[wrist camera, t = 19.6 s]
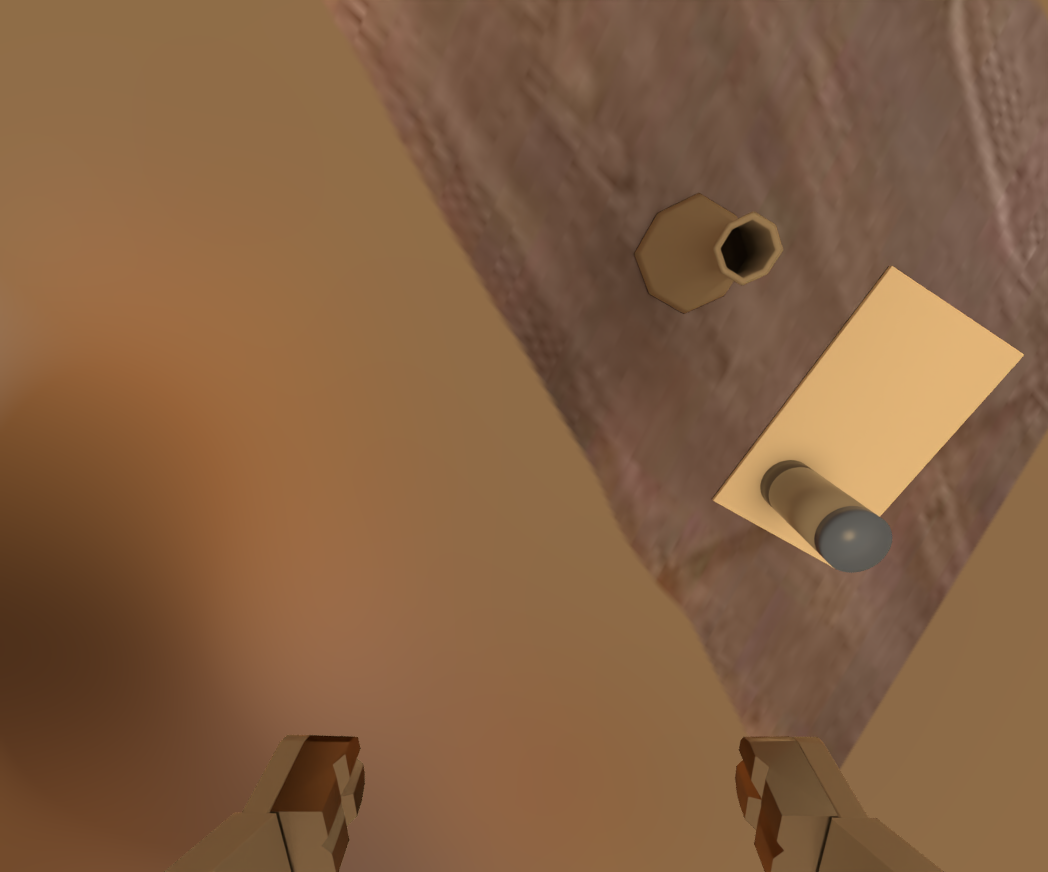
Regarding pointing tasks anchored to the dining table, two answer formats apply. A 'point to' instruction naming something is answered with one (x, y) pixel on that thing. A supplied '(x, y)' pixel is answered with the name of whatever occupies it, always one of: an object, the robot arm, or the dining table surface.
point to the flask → (704, 252)
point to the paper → (875, 402)
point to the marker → (826, 517)
